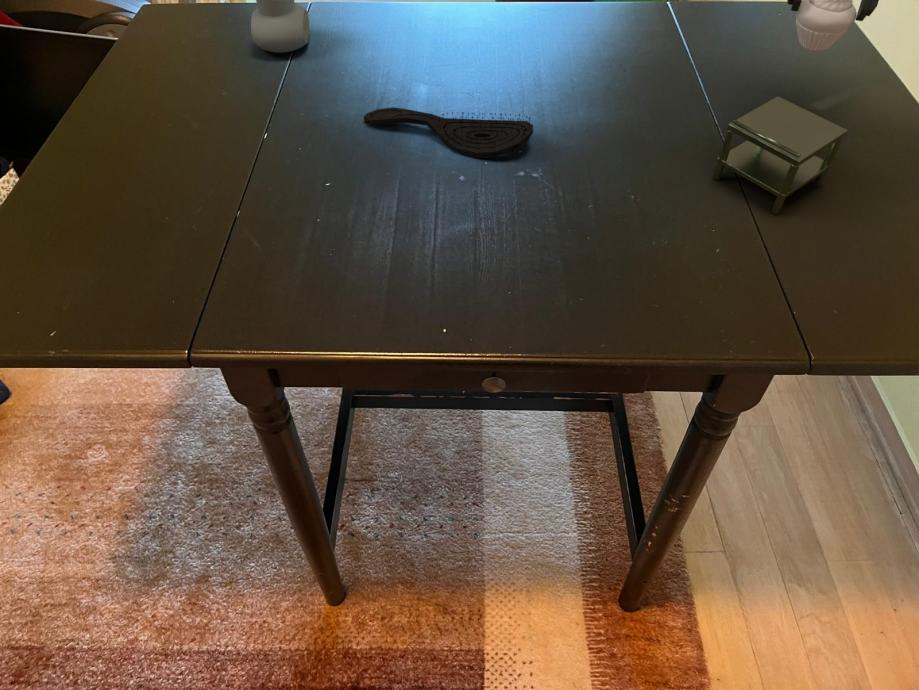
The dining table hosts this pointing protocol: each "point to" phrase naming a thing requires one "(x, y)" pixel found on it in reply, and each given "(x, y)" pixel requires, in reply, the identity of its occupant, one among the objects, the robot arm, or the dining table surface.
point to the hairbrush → (462, 130)
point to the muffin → (823, 22)
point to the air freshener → (279, 25)
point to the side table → (780, 148)
